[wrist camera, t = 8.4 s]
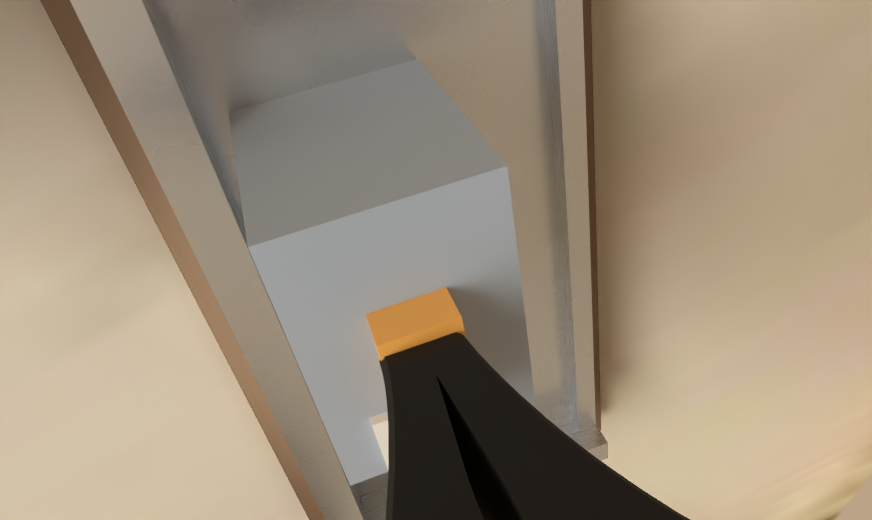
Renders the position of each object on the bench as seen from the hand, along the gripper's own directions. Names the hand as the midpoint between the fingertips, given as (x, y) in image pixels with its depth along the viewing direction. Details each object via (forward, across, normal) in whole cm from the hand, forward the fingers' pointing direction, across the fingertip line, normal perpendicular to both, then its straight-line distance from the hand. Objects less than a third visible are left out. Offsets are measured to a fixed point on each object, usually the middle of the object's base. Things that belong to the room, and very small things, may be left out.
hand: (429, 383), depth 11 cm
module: (+6, 0, 0) cm, 6 cm away
